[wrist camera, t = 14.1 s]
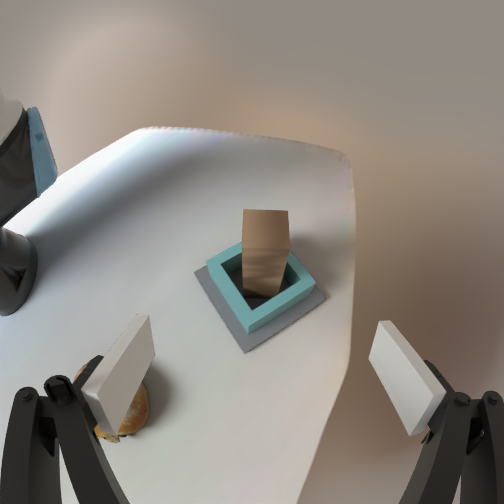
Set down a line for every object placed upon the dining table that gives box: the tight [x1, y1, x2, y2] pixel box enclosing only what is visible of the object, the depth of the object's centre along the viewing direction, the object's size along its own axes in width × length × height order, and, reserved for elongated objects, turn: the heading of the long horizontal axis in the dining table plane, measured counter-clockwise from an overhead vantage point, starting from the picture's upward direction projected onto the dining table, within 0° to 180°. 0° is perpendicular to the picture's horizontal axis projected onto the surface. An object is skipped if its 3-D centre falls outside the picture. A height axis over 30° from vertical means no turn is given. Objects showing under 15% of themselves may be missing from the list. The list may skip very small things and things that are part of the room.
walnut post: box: [242, 209, 290, 299], centre depth 29 cm, size 4×4×12 cm
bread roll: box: [74, 362, 149, 443], centre depth 25 cm, size 10×10×8 cm
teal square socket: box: [194, 242, 326, 354], centre depth 33 cm, size 12×12×5 cm
